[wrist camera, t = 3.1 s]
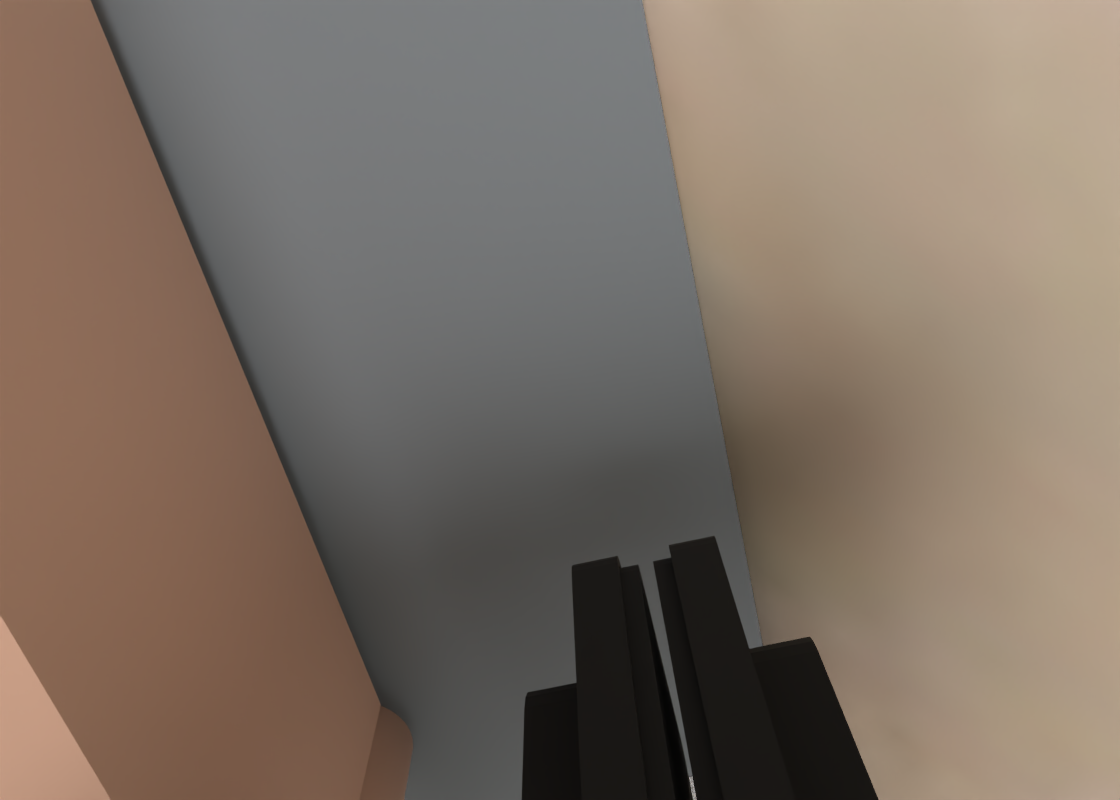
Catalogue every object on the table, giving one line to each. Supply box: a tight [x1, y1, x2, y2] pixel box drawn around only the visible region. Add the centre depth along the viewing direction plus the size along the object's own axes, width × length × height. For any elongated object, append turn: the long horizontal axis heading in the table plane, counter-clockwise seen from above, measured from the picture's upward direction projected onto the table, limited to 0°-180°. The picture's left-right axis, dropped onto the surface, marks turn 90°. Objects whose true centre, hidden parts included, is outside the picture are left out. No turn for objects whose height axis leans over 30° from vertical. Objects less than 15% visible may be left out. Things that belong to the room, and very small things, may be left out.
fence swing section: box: [0, 0, 413, 800], centre depth 10 cm, size 13×2×7 cm, turn 14°
